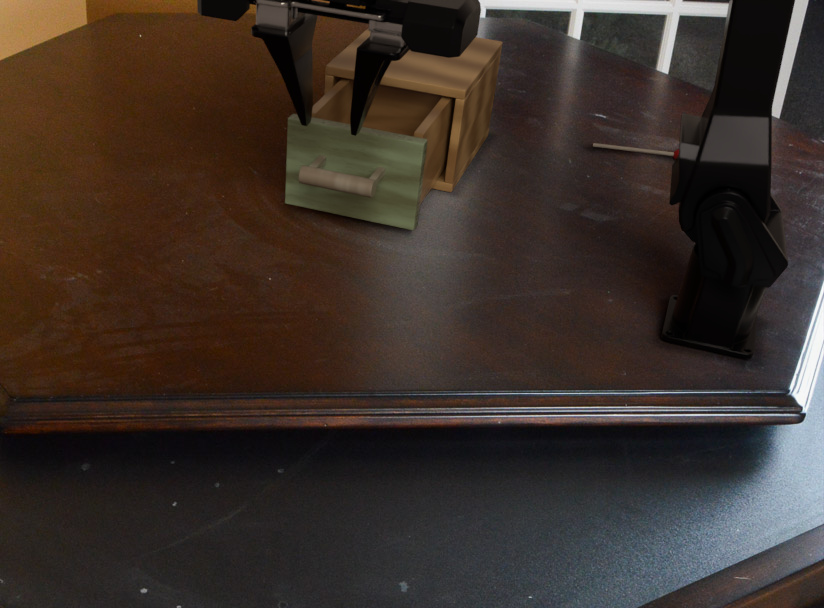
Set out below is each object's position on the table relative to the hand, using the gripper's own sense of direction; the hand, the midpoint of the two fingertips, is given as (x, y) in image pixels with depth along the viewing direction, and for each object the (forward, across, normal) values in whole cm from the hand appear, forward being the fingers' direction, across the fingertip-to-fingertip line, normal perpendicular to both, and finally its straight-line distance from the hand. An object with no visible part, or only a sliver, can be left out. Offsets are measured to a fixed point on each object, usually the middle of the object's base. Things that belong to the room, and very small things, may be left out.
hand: (330, 128), depth 77 cm
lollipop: (+11, -24, -34) cm, 43 cm away
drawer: (+10, 0, -11) cm, 14 cm away
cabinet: (+10, 0, -24) cm, 26 cm away
